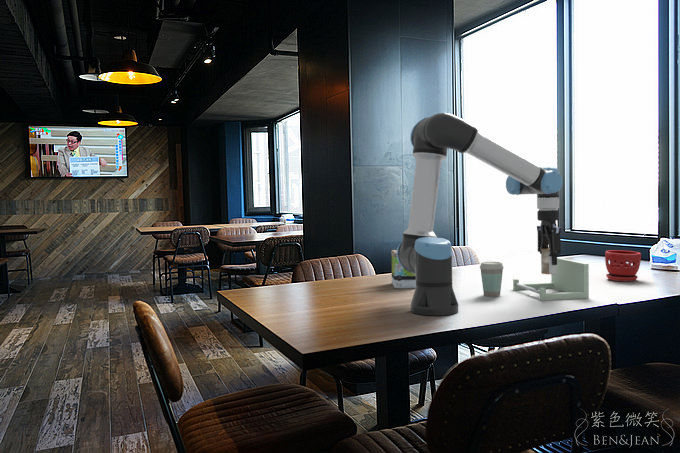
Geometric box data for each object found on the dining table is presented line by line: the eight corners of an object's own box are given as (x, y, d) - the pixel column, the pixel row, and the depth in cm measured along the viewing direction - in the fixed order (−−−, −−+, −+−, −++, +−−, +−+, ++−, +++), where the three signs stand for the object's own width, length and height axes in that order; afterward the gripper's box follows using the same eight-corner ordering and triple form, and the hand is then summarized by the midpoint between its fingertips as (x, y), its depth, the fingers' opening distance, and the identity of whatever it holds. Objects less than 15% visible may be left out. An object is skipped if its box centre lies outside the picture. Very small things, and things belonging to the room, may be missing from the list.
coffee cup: (505, 297, 192) (504, 264, 191) (480, 297, 194) (480, 264, 193) (502, 293, 200) (502, 261, 200) (479, 293, 202) (478, 261, 202)
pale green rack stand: (541, 300, 185) (541, 265, 184) (513, 289, 208) (512, 258, 207) (588, 297, 187) (588, 263, 186) (555, 287, 210) (555, 256, 209)
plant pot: (611, 282, 217) (611, 253, 216) (601, 277, 230) (600, 250, 229) (646, 282, 215) (646, 252, 214) (633, 277, 228) (633, 249, 227)
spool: (560, 274, 195) (559, 249, 194) (545, 274, 194) (545, 250, 193) (552, 272, 200) (552, 248, 199) (538, 272, 199) (538, 248, 199)
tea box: (419, 288, 217) (418, 252, 216) (394, 289, 217) (393, 252, 216) (414, 282, 232) (413, 248, 231) (391, 283, 232) (390, 249, 231)
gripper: (571, 209, 187) (572, 275, 188) (545, 208, 205) (546, 269, 206) (550, 210, 186) (551, 276, 187) (527, 209, 204) (528, 270, 206)
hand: (549, 272), depth 197 cm, fingers closed on spool, 5 cm apart
